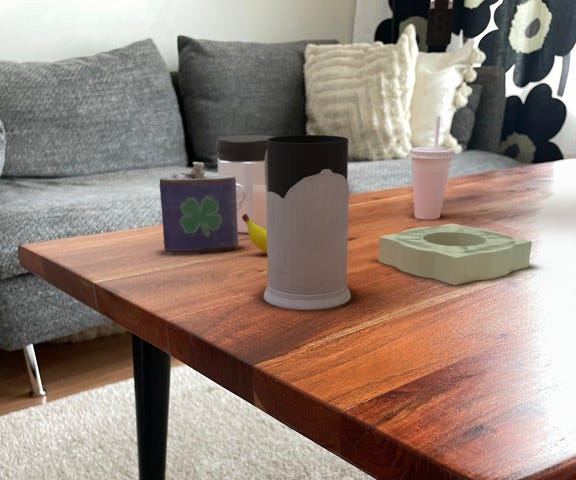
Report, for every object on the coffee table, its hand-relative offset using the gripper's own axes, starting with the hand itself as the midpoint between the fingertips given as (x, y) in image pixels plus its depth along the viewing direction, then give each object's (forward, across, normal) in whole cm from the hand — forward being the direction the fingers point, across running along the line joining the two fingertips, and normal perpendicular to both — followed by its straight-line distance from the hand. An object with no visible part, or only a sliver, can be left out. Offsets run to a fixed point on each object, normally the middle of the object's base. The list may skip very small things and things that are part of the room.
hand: (437, 45), depth 98 cm
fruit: (+24, -25, +16) cm, 38 cm away
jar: (+24, -10, +24) cm, 35 cm away
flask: (+24, -25, +27) cm, 44 cm away
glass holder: (+24, -39, +13) cm, 47 cm away
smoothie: (+23, 0, -1) cm, 23 cm away
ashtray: (+23, -27, -3) cm, 36 cm away
